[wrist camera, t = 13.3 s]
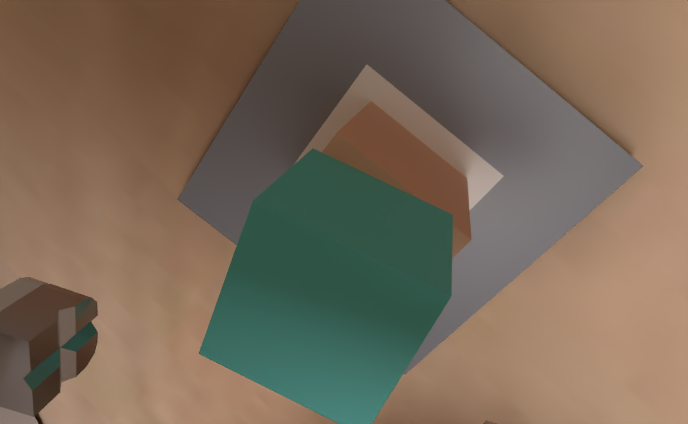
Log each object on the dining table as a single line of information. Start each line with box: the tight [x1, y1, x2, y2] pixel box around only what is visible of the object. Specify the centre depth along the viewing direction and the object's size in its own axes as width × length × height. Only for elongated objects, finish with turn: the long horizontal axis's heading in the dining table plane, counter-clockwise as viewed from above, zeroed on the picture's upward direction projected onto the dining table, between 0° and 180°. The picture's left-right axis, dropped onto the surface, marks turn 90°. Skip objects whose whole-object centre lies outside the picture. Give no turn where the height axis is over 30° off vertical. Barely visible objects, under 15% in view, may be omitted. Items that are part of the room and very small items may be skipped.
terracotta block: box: [322, 101, 471, 259], centre depth 17 cm, size 5×5×6 cm
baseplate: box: [177, 0, 643, 374], centre depth 21 cm, size 14×14×1 cm
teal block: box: [199, 148, 453, 424], centre depth 13 cm, size 4×4×4 cm
